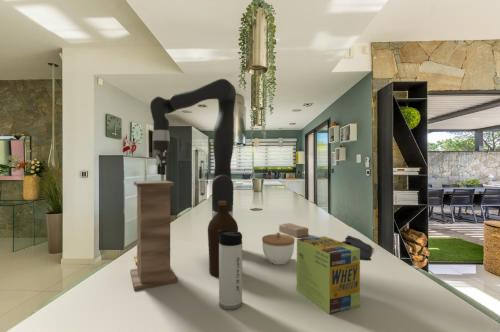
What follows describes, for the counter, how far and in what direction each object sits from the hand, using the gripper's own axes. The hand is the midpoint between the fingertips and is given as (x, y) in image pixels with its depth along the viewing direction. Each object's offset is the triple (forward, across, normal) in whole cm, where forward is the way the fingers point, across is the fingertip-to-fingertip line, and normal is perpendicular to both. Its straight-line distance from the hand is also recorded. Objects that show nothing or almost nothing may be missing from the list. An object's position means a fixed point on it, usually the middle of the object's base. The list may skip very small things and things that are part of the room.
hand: (161, 174), depth 130 cm
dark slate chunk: (+34, -48, -73) cm, 94 cm away
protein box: (+33, -75, -33) cm, 89 cm away
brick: (+34, -12, -68) cm, 77 cm away
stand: (+33, -38, +9) cm, 51 cm away
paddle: (+33, -13, +9) cm, 37 cm away
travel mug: (+33, -66, -7) cm, 75 cm away
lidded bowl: (+33, -44, -37) cm, 67 cm away
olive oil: (+33, -45, -13) cm, 57 cm away
